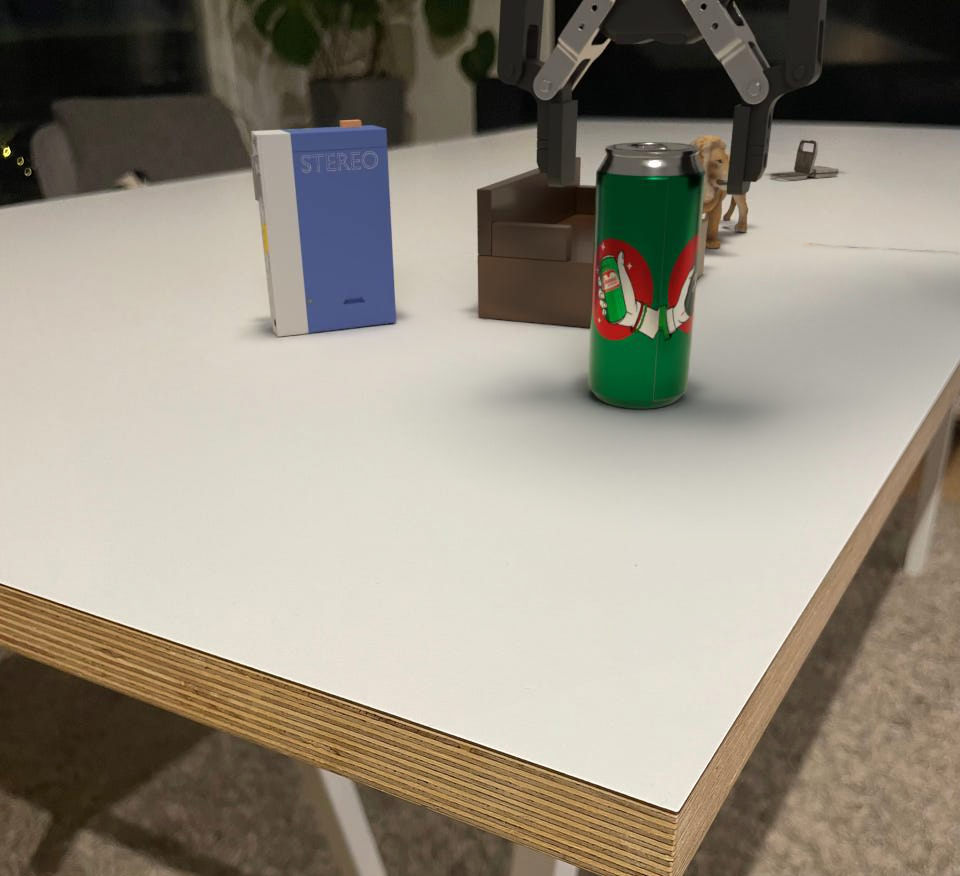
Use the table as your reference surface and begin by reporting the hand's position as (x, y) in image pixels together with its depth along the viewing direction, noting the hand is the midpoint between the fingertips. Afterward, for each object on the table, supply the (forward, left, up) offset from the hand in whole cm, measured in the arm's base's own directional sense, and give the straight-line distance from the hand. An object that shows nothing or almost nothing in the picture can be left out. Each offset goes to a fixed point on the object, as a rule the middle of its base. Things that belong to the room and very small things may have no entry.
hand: (646, 189), depth 49 cm
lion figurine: (+5, -43, -10) cm, 45 cm away
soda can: (0, 0, -10) cm, 10 cm away
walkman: (+22, -7, -10) cm, 25 cm away
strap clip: (+3, -87, -10) cm, 88 cm away
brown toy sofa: (+8, -21, -10) cm, 25 cm away
